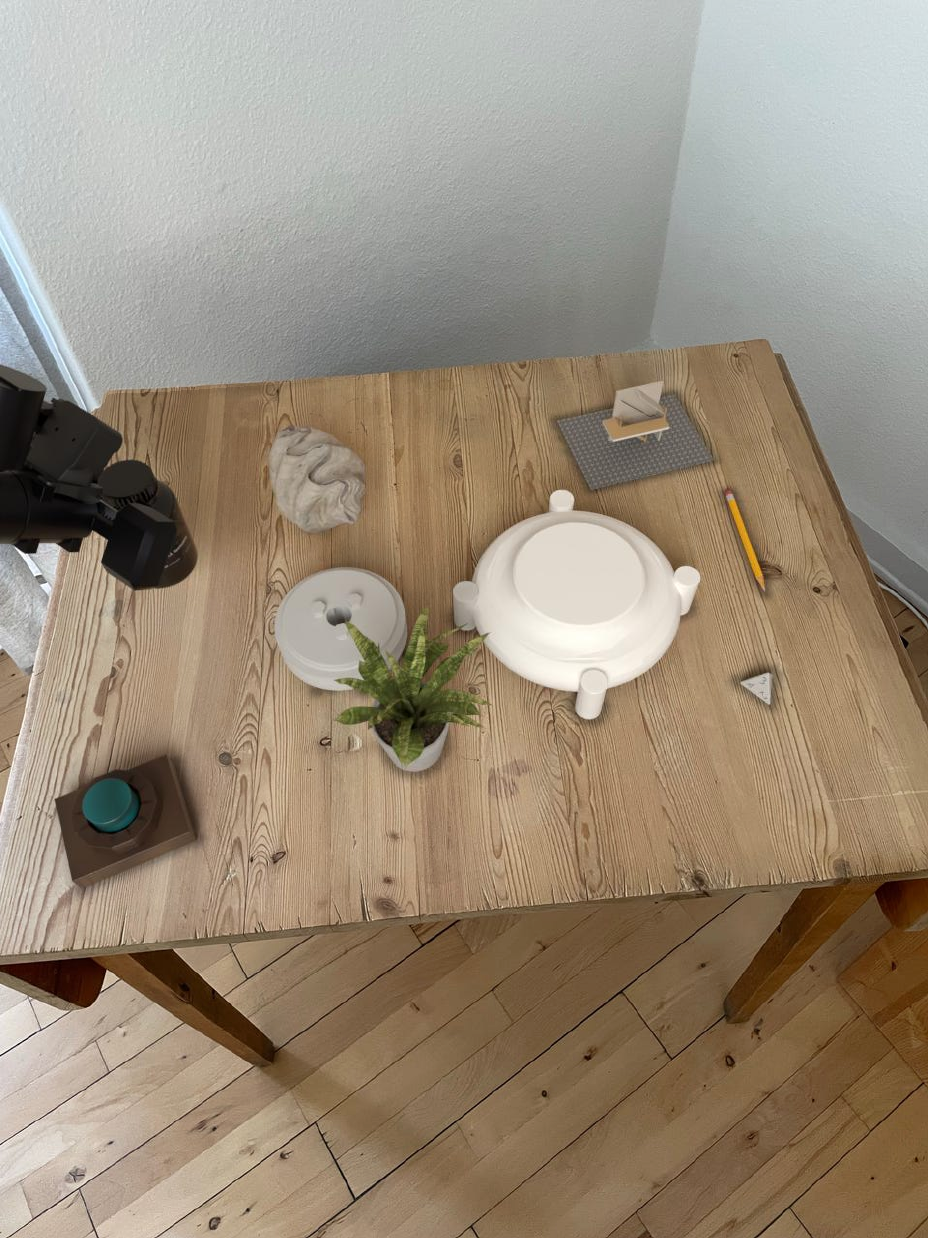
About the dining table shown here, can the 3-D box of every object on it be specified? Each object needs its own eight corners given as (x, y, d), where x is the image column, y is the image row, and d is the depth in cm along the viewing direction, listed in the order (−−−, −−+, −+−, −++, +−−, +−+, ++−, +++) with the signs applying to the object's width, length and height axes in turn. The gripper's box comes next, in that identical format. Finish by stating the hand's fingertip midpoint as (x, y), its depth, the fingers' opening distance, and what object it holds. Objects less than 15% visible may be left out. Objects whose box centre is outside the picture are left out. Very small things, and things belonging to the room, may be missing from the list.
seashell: (280, 567, 92) (260, 506, 84) (276, 463, 100) (257, 398, 92) (376, 555, 93) (366, 493, 84) (365, 453, 101) (354, 387, 92)
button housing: (82, 889, 74) (63, 875, 71) (64, 807, 78) (45, 791, 75) (196, 840, 76) (183, 824, 73) (173, 763, 80) (160, 745, 77)
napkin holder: (665, 449, 100) (677, 400, 94) (608, 462, 99) (617, 414, 93) (653, 429, 102) (664, 380, 96) (598, 441, 101) (605, 393, 95)
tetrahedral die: (742, 673, 85) (739, 656, 83) (772, 674, 84) (770, 657, 82) (739, 704, 84) (735, 687, 81) (770, 705, 82) (767, 688, 80)
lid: (273, 602, 90) (263, 573, 85) (393, 576, 91) (389, 547, 87) (291, 708, 83) (280, 683, 79) (420, 678, 84) (417, 652, 80)
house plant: (510, 819, 77) (517, 740, 63) (354, 844, 76) (326, 769, 62) (484, 679, 84) (484, 581, 71) (341, 699, 83) (314, 604, 70)
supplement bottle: (197, 588, 84) (159, 506, 74) (125, 594, 83) (77, 512, 73) (202, 532, 87) (167, 447, 77) (133, 538, 87) (89, 453, 77)
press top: (96, 840, 73) (87, 831, 71) (87, 798, 75) (77, 789, 73) (144, 820, 73) (135, 811, 72) (133, 779, 75) (125, 770, 74)
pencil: (731, 494, 97) (732, 489, 96) (767, 592, 89) (769, 589, 89) (724, 494, 97) (725, 490, 96) (760, 593, 89) (761, 589, 89)
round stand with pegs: (446, 528, 94) (444, 484, 88) (666, 513, 95) (678, 468, 89) (462, 728, 81) (461, 693, 75) (716, 710, 82) (735, 673, 76)
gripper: (117, 460, 61) (258, 473, 75) (-48, 358, 67) (111, 387, 81) (73, 600, 64) (216, 586, 78) (-81, 490, 70) (77, 496, 84)
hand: (154, 510), depth 80 cm, fingers closed on supplement bottle, 7 cm apart
